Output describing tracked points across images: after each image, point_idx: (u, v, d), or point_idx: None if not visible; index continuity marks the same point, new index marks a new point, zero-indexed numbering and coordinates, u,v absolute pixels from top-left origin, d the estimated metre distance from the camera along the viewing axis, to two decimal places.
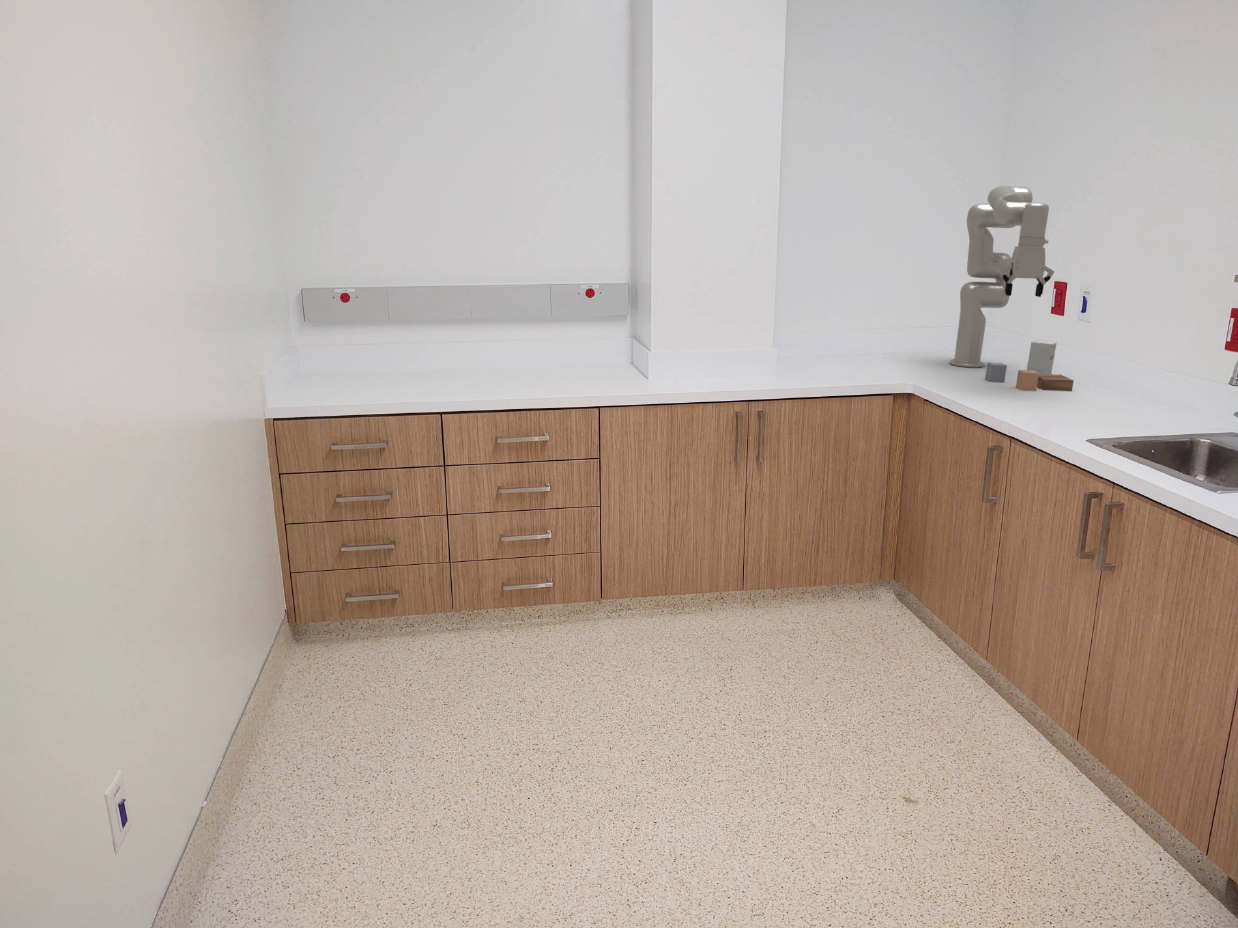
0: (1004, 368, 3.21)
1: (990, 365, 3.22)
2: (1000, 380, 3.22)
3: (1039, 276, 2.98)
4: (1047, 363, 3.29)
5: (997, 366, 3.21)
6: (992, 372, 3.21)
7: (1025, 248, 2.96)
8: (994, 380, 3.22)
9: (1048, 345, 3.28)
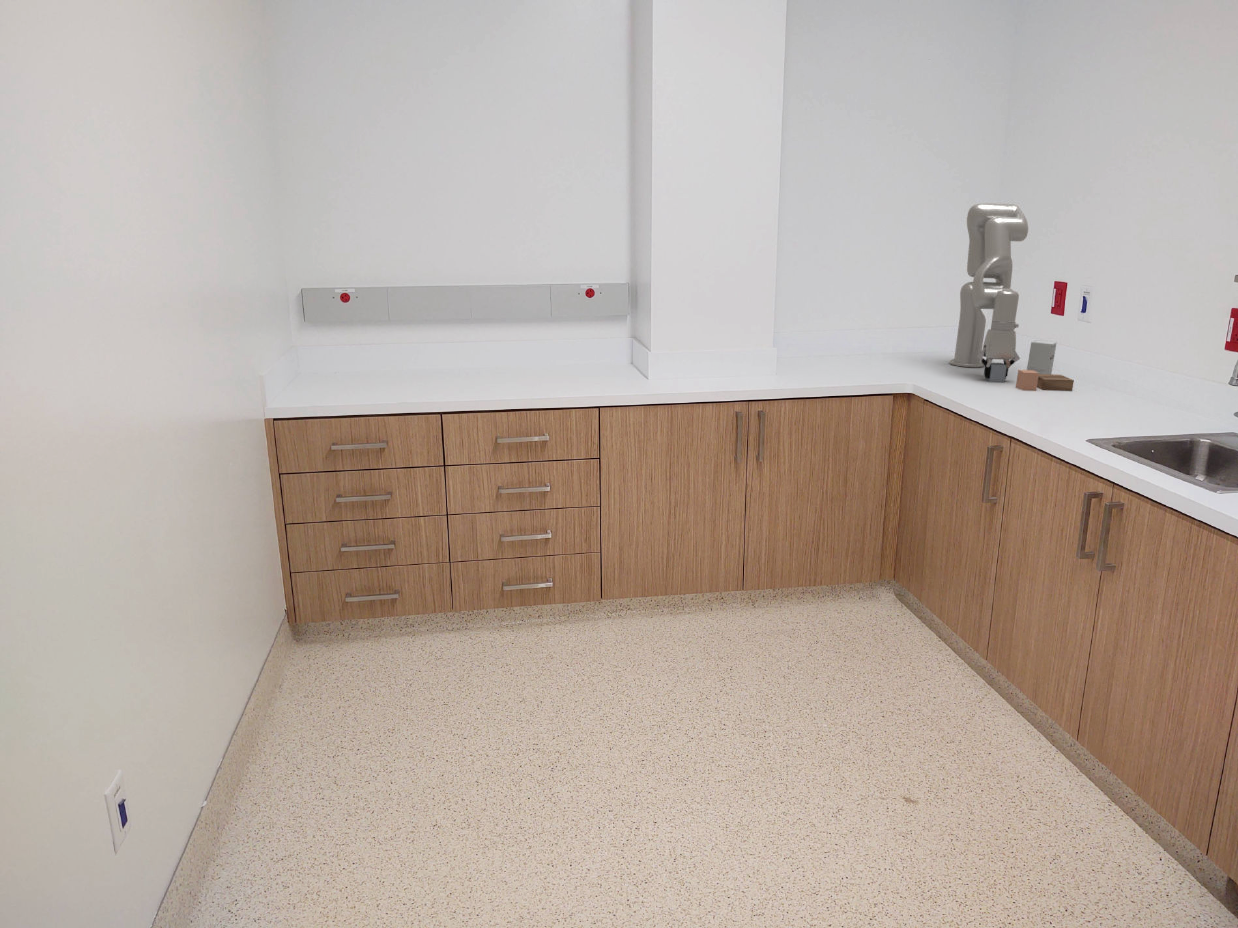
0: (1004, 368, 3.21)
1: (990, 365, 3.22)
2: (1000, 380, 3.22)
3: (1010, 357, 3.20)
4: (1047, 363, 3.29)
5: (997, 366, 3.20)
6: (992, 372, 3.21)
7: (997, 332, 3.17)
8: (994, 380, 3.22)
9: (1048, 345, 3.28)
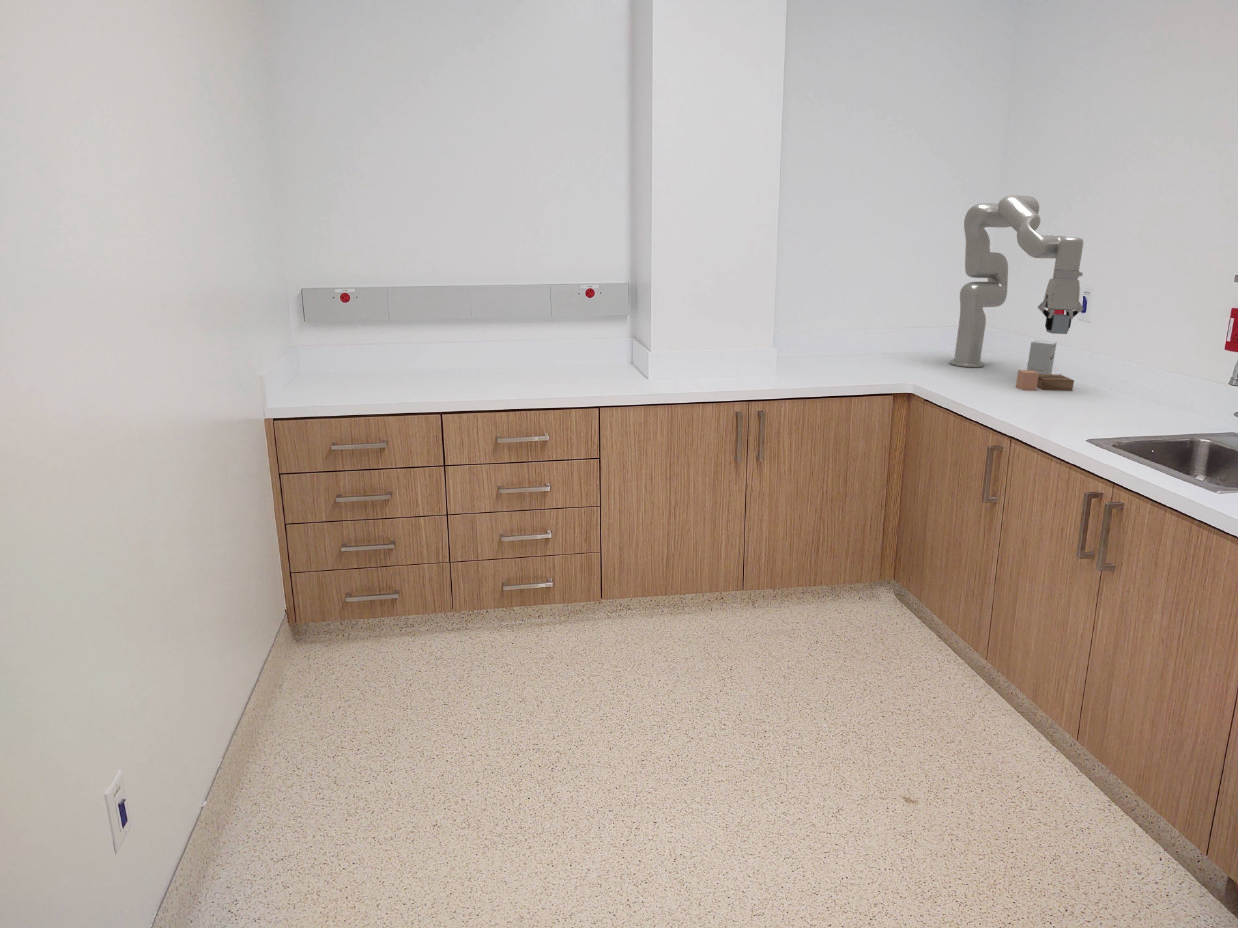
0: (1067, 319, 3.06)
1: (1052, 316, 3.08)
2: (1063, 332, 3.08)
3: (1073, 308, 3.06)
4: (1047, 363, 3.29)
5: (1060, 317, 3.06)
6: (1054, 323, 3.07)
7: (1060, 281, 3.03)
8: (1056, 332, 3.08)
9: (1048, 345, 3.28)
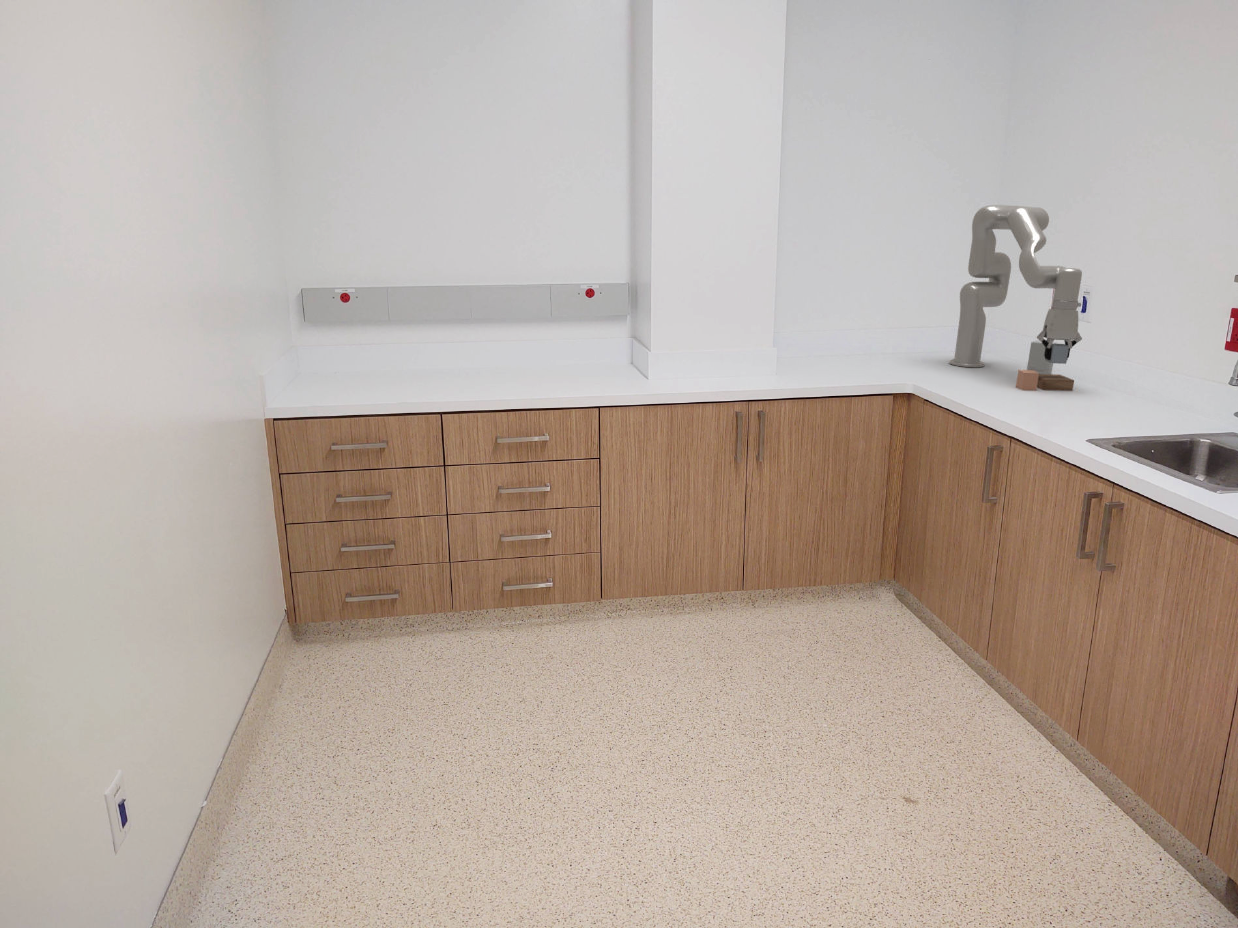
0: (1066, 349, 3.09)
1: (1051, 346, 3.10)
2: (1062, 361, 3.10)
3: (1072, 338, 3.08)
4: (1047, 363, 3.29)
5: (1059, 347, 3.09)
6: (1054, 353, 3.09)
7: (1059, 311, 3.06)
8: (1056, 361, 3.10)
9: None
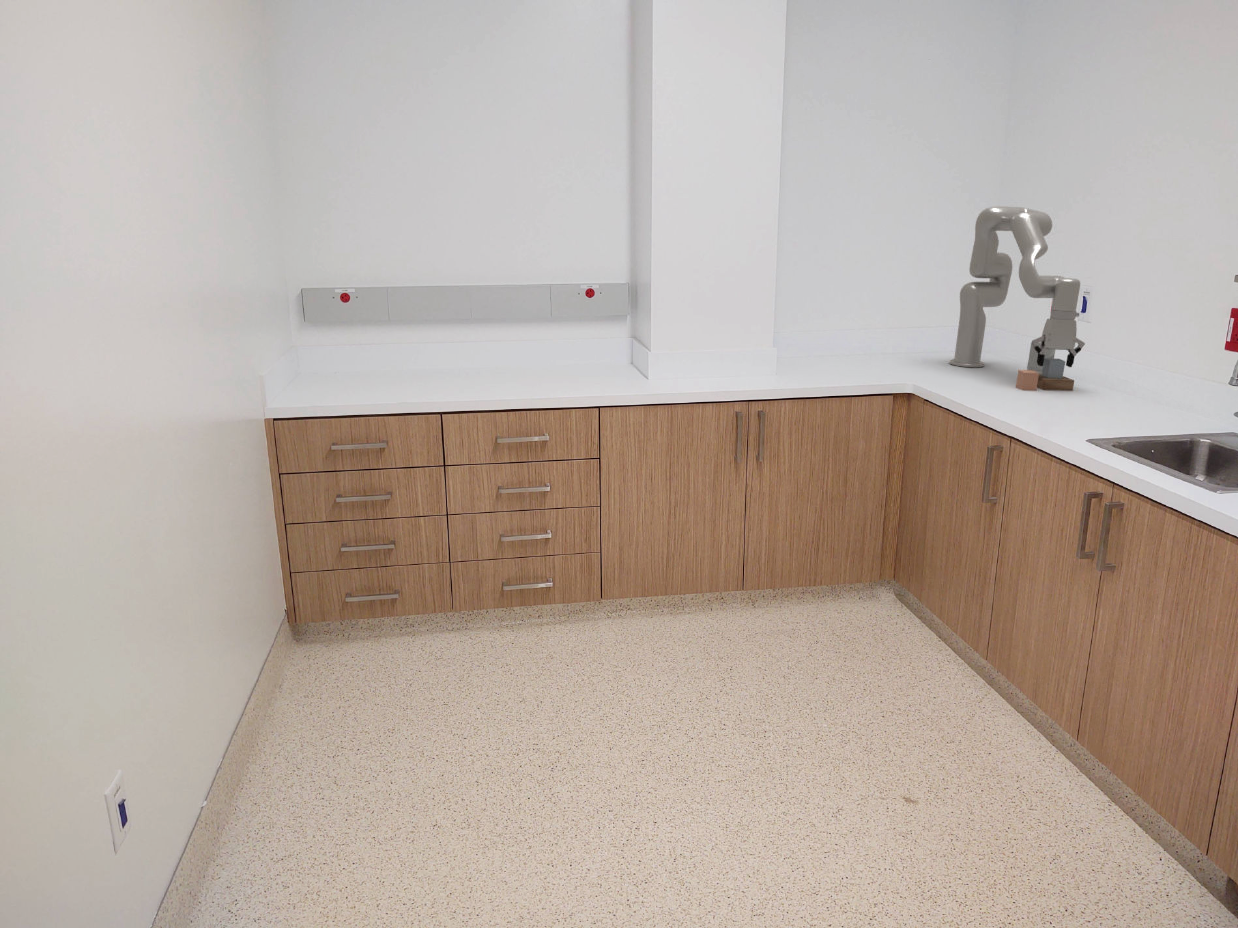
0: (1062, 364, 3.11)
1: (1048, 361, 3.12)
2: (1058, 376, 3.12)
3: (1070, 348, 3.09)
4: None
5: (1055, 362, 3.10)
6: (1050, 368, 3.11)
7: (1057, 321, 3.07)
8: (1052, 376, 3.12)
9: None
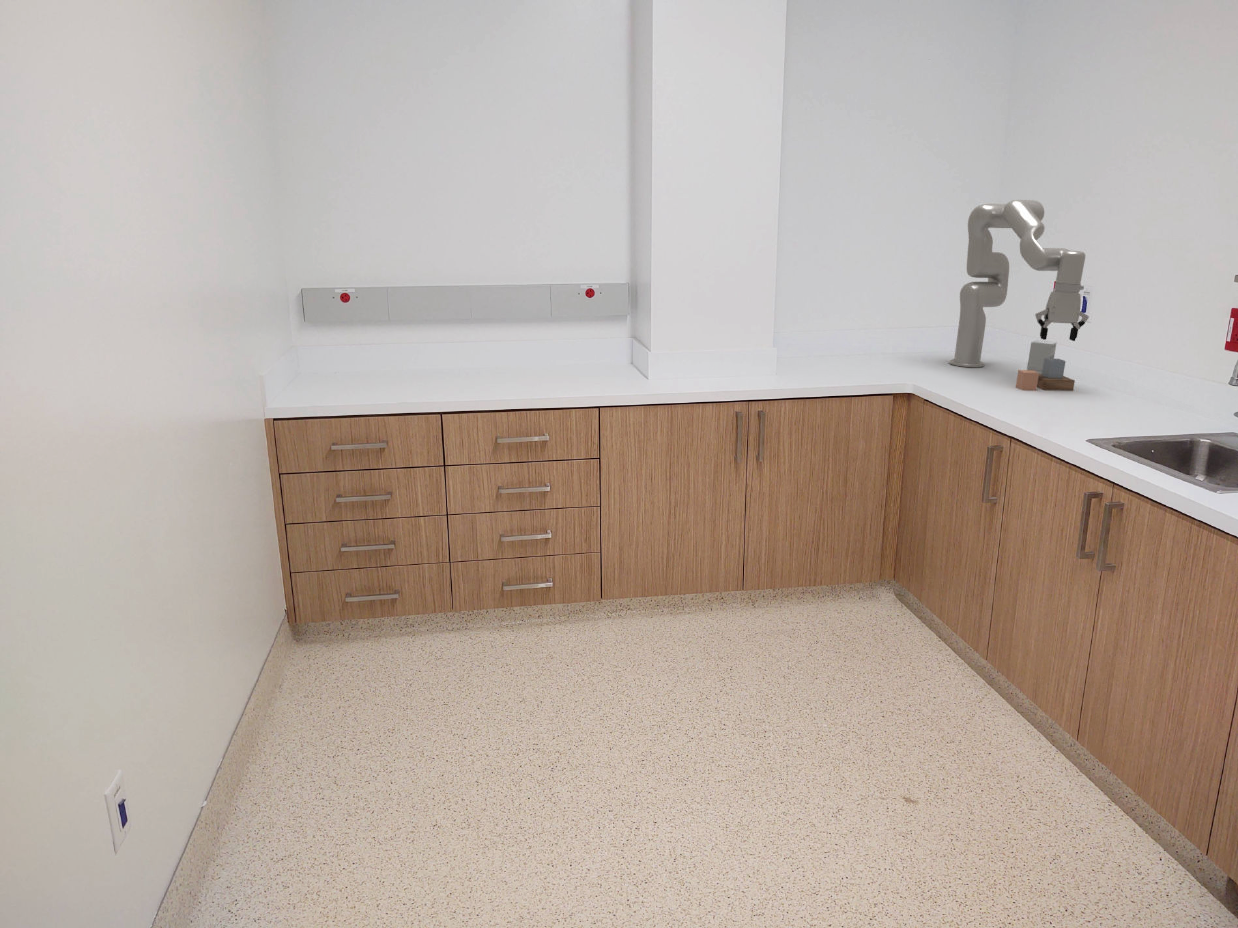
0: (1063, 364, 3.11)
1: (1048, 361, 3.12)
2: (1058, 376, 3.12)
3: (1074, 321, 3.07)
4: None
5: (1056, 362, 3.10)
6: (1050, 368, 3.11)
7: (1061, 294, 3.04)
8: (1052, 376, 3.12)
9: (1048, 345, 3.28)
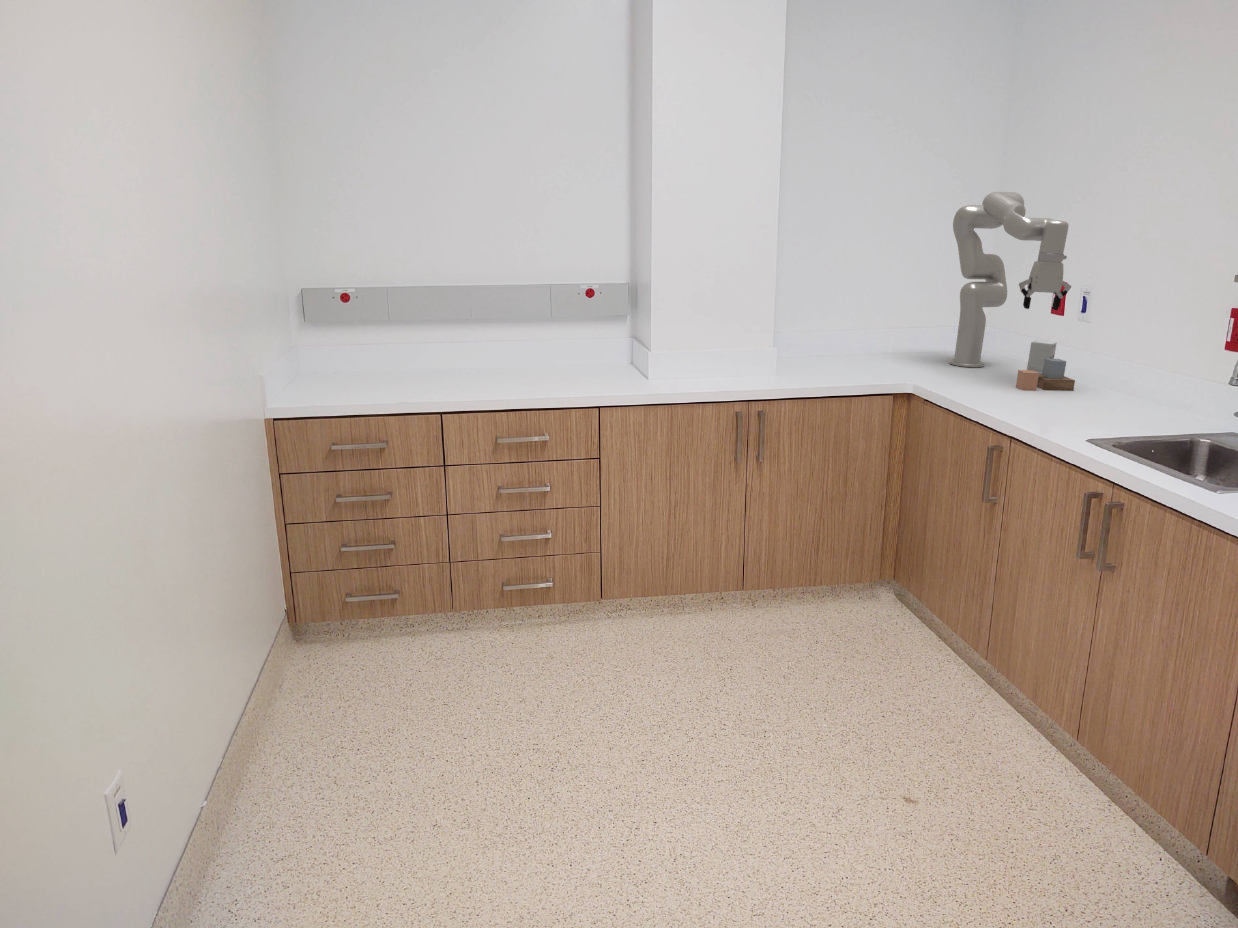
0: (1064, 364, 3.10)
1: (1049, 361, 3.12)
2: (1059, 376, 3.11)
3: (1057, 290, 3.11)
4: None
5: (1057, 362, 3.10)
6: (1051, 368, 3.11)
7: (1044, 264, 3.08)
8: (1053, 376, 3.11)
9: (1048, 345, 3.28)
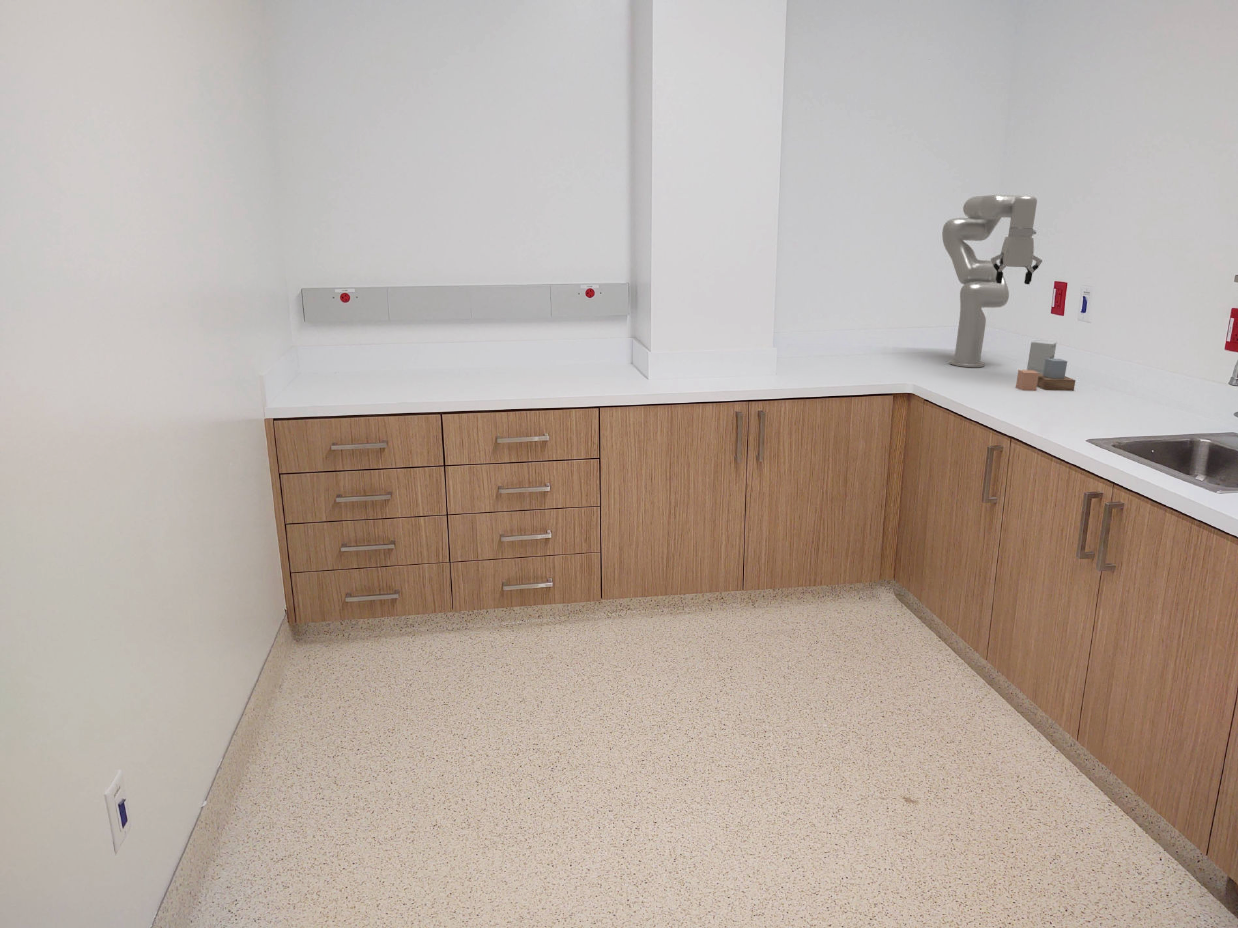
0: (1064, 364, 3.11)
1: (1050, 361, 3.12)
2: (1060, 376, 3.12)
3: (1028, 265, 3.18)
4: None
5: (1058, 362, 3.10)
6: (1052, 368, 3.11)
7: (1015, 238, 3.15)
8: (1054, 376, 3.12)
9: (1048, 345, 3.28)
